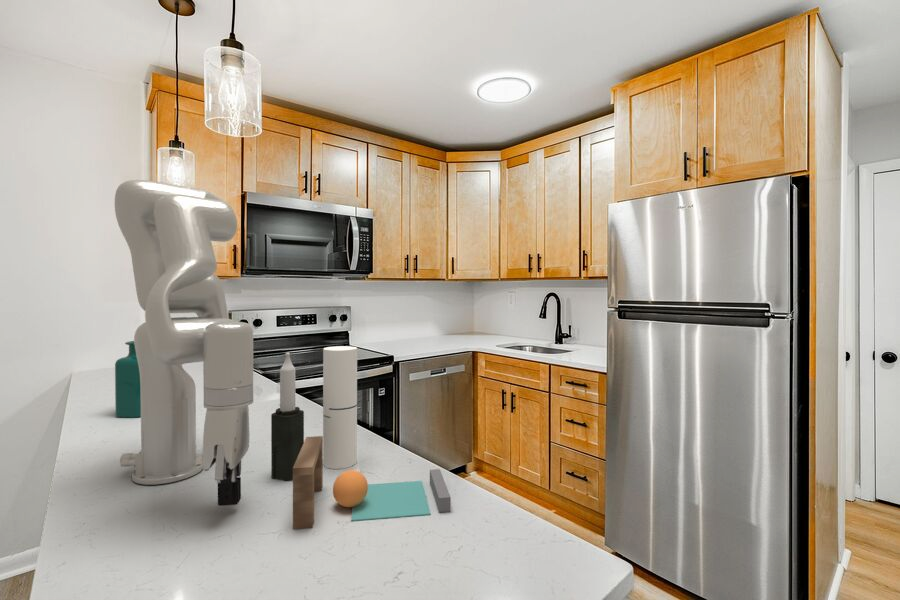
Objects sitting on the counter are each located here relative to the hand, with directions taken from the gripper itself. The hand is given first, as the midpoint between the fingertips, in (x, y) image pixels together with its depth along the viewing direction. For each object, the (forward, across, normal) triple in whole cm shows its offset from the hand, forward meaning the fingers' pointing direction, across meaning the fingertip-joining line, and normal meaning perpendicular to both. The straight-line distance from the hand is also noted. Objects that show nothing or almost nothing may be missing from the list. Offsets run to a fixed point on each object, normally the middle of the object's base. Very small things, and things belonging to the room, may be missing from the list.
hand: (229, 502), depth 76 cm
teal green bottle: (+2, -67, -45) cm, 81 cm away
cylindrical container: (+2, -19, +17) cm, 26 cm away
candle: (+2, -14, +7) cm, 16 cm away
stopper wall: (+2, 0, +36) cm, 36 cm away
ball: (-2, +1, +20) cm, 20 cm away
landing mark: (+2, 0, +27) cm, 27 cm away
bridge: (+2, 0, +13) cm, 13 cm away
